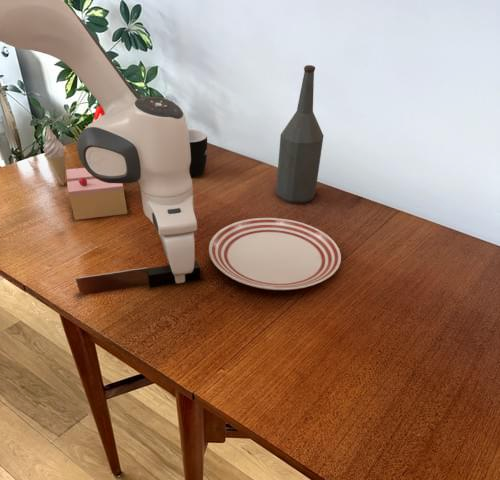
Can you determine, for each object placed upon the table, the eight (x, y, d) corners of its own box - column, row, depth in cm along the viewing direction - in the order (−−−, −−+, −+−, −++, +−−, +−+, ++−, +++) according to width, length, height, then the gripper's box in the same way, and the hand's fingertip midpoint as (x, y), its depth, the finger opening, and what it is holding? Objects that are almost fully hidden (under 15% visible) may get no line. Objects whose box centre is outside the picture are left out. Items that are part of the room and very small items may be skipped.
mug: (211, 178, 126) (210, 140, 119) (178, 181, 124) (175, 143, 117) (202, 160, 134) (201, 124, 127) (171, 162, 132) (168, 126, 126)
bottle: (281, 183, 125) (292, 58, 105) (317, 189, 123) (335, 62, 103) (272, 201, 118) (282, 69, 97) (310, 207, 116) (328, 74, 96)
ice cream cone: (48, 185, 120) (32, 125, 109) (64, 179, 123) (50, 120, 112) (61, 191, 118) (45, 130, 107) (77, 184, 121) (63, 124, 110)
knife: (80, 299, 87) (76, 282, 84) (80, 291, 88) (75, 274, 86) (200, 279, 92) (199, 263, 90) (197, 272, 94) (196, 256, 91)
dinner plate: (245, 217, 111) (245, 204, 109) (354, 247, 103) (357, 234, 101) (184, 276, 93) (183, 262, 91) (311, 319, 85) (314, 305, 83)
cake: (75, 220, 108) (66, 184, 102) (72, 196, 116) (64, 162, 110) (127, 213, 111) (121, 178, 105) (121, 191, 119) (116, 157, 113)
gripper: (140, 177, 87) (149, 241, 96) (160, 232, 73) (168, 301, 82) (174, 174, 88) (179, 237, 98) (199, 227, 74) (203, 294, 84)
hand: (174, 266), depth 90 cm, fingers open, 8 cm apart
